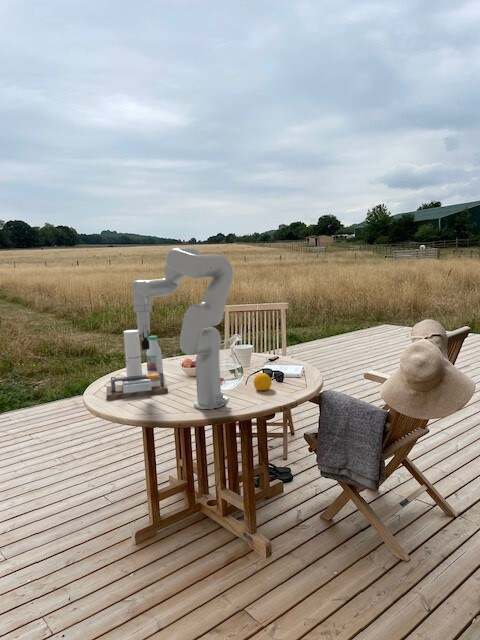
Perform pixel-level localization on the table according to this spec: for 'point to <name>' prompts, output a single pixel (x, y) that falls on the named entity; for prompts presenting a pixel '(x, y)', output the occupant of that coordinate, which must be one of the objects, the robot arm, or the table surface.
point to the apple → (262, 381)
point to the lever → (137, 377)
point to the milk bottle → (154, 356)
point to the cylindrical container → (132, 353)
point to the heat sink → (137, 384)
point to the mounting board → (119, 392)
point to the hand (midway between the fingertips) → (145, 349)
